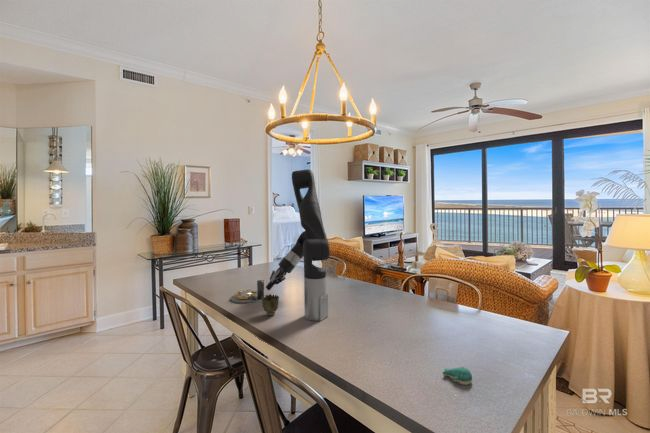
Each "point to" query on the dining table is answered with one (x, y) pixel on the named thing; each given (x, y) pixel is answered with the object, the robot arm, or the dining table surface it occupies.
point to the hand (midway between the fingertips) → (267, 288)
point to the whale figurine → (459, 375)
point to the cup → (270, 304)
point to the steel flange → (243, 299)
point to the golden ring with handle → (253, 292)
